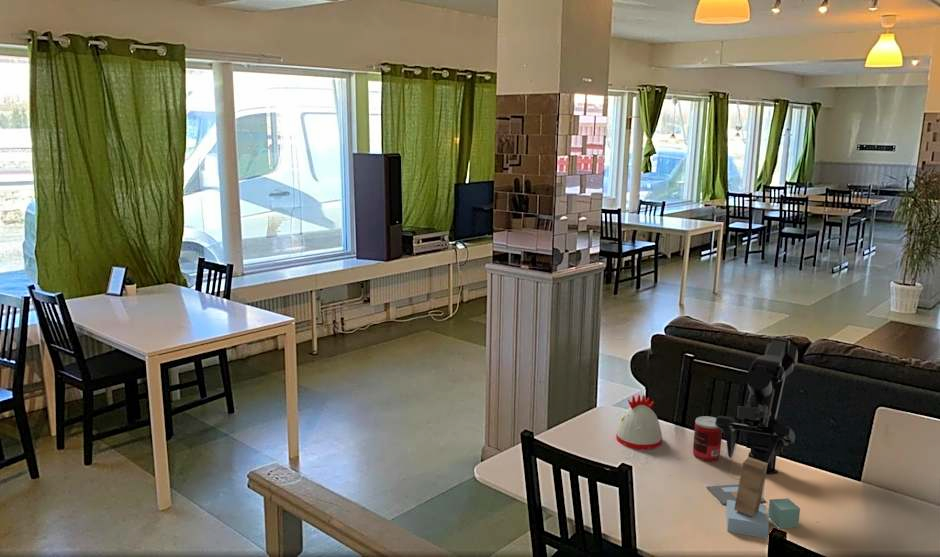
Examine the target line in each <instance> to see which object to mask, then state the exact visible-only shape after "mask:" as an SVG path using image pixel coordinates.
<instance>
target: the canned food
mask: <svg viewBox="0 0 940 557" xmlns="http://www.w3.org/2000/svg"><path fill="white" fill-rule="evenodd" d="M716 418H717V417H715V416H707V415H705V416H704V415H703V416H698V417H696V418H695V421H694V423H695V424H694V431H693V432H694V433H693V446H692V453H693V456H694V457H695V458H697V459H698V460H701V461H706V462H715V461H717V460H718V459H719V458H720V455H721V445H722V437H723V435H722V434H723V432H722V431H721V430H720V429H719V428H718V427H717V426H716V425H715V422H716Z"/></svg>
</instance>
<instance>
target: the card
mask: <svg viewBox="0 0 940 557" xmlns="http://www.w3.org/2000/svg"><path fill="white" fill-rule="evenodd" d="M738 487H739V483H738V484H725V485H724V484H722V485H711V486H710V485H709V486H706V489H707V490H708V492H710V494H712V496H713V497H714V498H715V497H716V498H717V499H718V500H719V501H720V502H719V501H718V500H717V499H716V498H715V499H716V500H717V501H718V502H719V503H720V504H721V505H722V506H725V505H726V506H727V500H733V501H736V498H737V492H738ZM766 501H767V500H766V499H765V498H764V497H763V496H761V501H760V503H766Z"/></svg>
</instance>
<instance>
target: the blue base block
mask: <svg viewBox="0 0 940 557" xmlns="http://www.w3.org/2000/svg"><path fill="white" fill-rule="evenodd" d="M735 503H736V501H733V500H727V505H726V509H725V518H726V532H728V533H729V532H730V533H736V534H740V535H747V536H753V537H758V538H763V539H764V538H765V539H767V538H768V536H769V535H768V534H769V527H770V524H769V518H768V513H767V507H766V505H762V504H760V506H759V511H758V512H757V513H756V514H755V515H754V516H753V517H752V516H749V515H747V514H744V513H742V512H739V511H737V510H734V508H735ZM766 537H767V538H766Z"/></svg>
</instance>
